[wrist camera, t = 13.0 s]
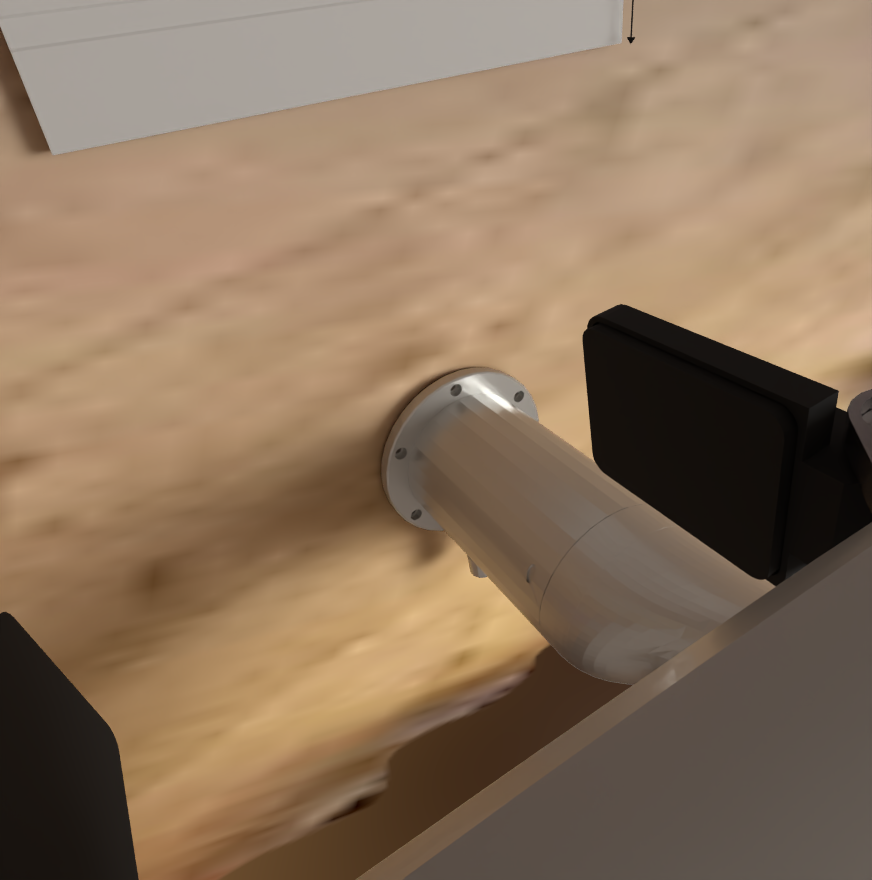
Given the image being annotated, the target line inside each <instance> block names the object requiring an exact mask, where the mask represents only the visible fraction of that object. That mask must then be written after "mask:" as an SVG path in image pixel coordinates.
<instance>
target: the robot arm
mask: <svg viewBox="0 0 872 880" xmlns="http://www.w3.org/2000/svg"><path fill="white" fill-rule="evenodd" d="M583 350H584V362H585V373H586V384H587V395H588V406H589V418H590V429H591V440H592V451H593V457H594V460H595V462H594V461H593V460H592V459H590V458H589V457H587V456H586V455H584V454H583V453H582V452H580V451H579V450H577V449H576V448H574V447H573V446H572V445H570V444H569V443H567V442H566V441H564V440H563V439H562V438H560V437H559V436H557V435H556V434H554V433H553V432H552V431H550V430H549V429H547V428H546V427H544V426H543V425H542V424H540V423H539V418H538V413H537V408H536V405H535V402H534V400H533V398H532V396H531V394H530V393H529V392H528V390H527V389H526V388H525V386H524V385H523V384H521V383H520V382H518V381H517V380H516V379H514V378H513V377H511V376H510V375H508V374H506V373H504V372H502V371H500V370H496V369H492V368H479V367H474V368H469V369H464V370H459V371H456V372H454V373H451V374H449V375H446V376H444V377H442V378H440V379H439V380H437V381H435V382H434V383H432V384H431V385H429V386H428V387H426V388H425V389H424V390H423V391H422V392H421V393H419V394H418V395H417V396H416V397H415V398H414V399H413V400H412V401H411V402H410V403H409V405H408V406H407V407H406V408H405V409H404V410H403V412H402V413H401V415H400V416H399V418H398V419H397V421H396V423H395V424H394V426H393V428H392V430H391V432H390V435H389V437H388V439H387V442H386V445H385V449H384V453H383V457H382V468H381V477H382V483H383V489H384V491H385V494H386V496H387V499H388V501H389V502H390V503H391V505H392V506H393V507H394V509H395V510H396V511H397V512H398V513H399V514H400V515H401V516H402V517H403V518H404V520H405V521H407V522H409V523H410V524H412V525H414V526H416V527H418V528H422V529H426V530H432V531H446V532H447V533H448V535H449V536H450V537H451V538H452V539H453V540H454V541H455V542H456V543H457V544H458V545H459V546H460V547H461V549H462V550H463V551H464V552H465V553H466V554H467V556H468V562H469V567H470V572H471V573H472V574H473V575H474V576H476V577H479V578H483V577H488V578H489V579H490V580H491V581H492V582H493V583H494V584H495V585H496V586H497V587H498V588H499V589H500V590H501V592H502V593H503V594H504V595H505V596H506V597H507V598H508V599H509V600H510V601H511V602H512V603H513V604H514V606H515V607H516V608H517V609H518V610H519V611H520V612H521V613H522V614H523V615H524V616H525V617H526V618H527V620H528V621H529V622H530V623H531V624H532V625H533V626H534V627H535V628H536V629H537V630H538V631H539V632H540V633H541V635H542V636H543V637H544V638H545V639H546V640H547V641H548V642H549V643H550V644H551V645H552V646H553V648H554V649H555V650H556V651H557V652H558V653H559V654H560V655H561V656H562V657H563V658H564V659H566V660H567V661H568V662H569V663H570V664H572V665H573V666H575V667H576V668H578V669H579V670H581V671H583V672H585V673H587V674H589V675H591V676H594V677H596V678H600V679H603V680H607V681H611V682H617V683H624V684H632V685H633V686H631V687H630V688H629V689H627V690H626V691H624V692H623V693H621V694H620V695H618V696H617V697H616V698H614V699H613V700H611V701H610V702H608V703H607V704H606V705H604V706H603V707H601V708H600V709H598V710H597V711H595V712H594V713H593V714H591V715H590V716H588V717H587V718H585V719H584V720H583V721H581V722H580V723H578V724H577V725H576V726H574V727H573V728H571V729H570V730H568V731H567V732H565V733H564V734H562V735H561V736H560V737H558V738H557V739H555V740H554V741H552V742H551V743H550V744H548V745H547V746H545V747H544V748H542V749H541V750H540V751H538V752H537V753H535V754H534V755H532V756H531V757H530V758H528V759H527V760H525V761H524V762H522V763H521V764H520V765H518V766H517V767H515V768H514V769H512V770H511V771H509V772H508V773H507V774H505V775H504V776H502V777H501V778H500V779H498V780H497V781H495V782H494V783H492V784H491V785H490V786H488V787H487V788H485V789H484V790H483V791H481V792H480V793H478V794H477V795H475V796H474V797H472V798H471V799H470V800H468V801H467V802H466V803H464V804H462V805H461V806H460V807H458V808H457V809H455V810H454V811H453V812H451V813H450V814H448V815H447V816H445V817H444V818H443V819H441V820H440V821H438V822H437V823H435V824H434V825H433V826H431V827H430V828H428V829H427V830H426V831H424V832H423V833H421V834H420V835H419V836H417V837H416V838H414V839H413V840H411V841H410V842H409V843H407V844H406V845H404V846H403V847H401V848H400V849H399V850H397V851H396V852H394V853H393V854H392V855H390V856H389V857H387V858H386V859H384V860H383V861H382V862H380V863H379V864H377V865H376V866H374V867H373V868H372V869H370V870H369V871H367V872H366V873H364V874H363V875H362V876H360V877H359V878H357V879H356V880H872V389H871V390H868V391H865V392H862V393H860V394H859V395H858V396H856V397H855V398H854V399H852V400H851V402H850V405H849V407H848V409H847V412H846V411H843V410H841V409H839V408H836V404H837V398H838V392H839V391H838V390H835V389H833V388H831V387H828V386H826V385H823V384H821V383H818V382H816V381H813V380H811V379H808V378H806V377H803V376H801V375H798V374H796V373H793V372H791V371H788V370H786V369H783V368H781V367H778V366H776V365H773V364H771V363H769V362H766V361H764V360H761V359H759V358H756V357H754V356H751V355H749V354H746V353H744V352H741V351H739V350H736V349H734V348H731V347H729V346H726V345H724V344H721V343H719V342H716V341H714V340H711V339H709V338H707V337H704V336H702V335H699V334H697V333H694V332H692V331H689V330H687V329H684V328H682V327H679V326H677V325H674V324H672V323H669V322H667V321H664V320H662V319H659V318H657V317H654V316H652V315H649V314H647V313H645V312H642V311H640V310H637V309H635V308H632V307H630V306H627V305H623V304H620V305H617V306H615V307H613V308H610V309H608V310H606V311H604V312H602V313H600V314H598V315H596V316H594V317H592V318H591V319H590V320H589V322H588V325H587V329H586V330H585V331H584V333H583ZM0 880H138V873H137V866H136V860H135V853H134V847H133V840H132V834H131V827H130V820H129V814H128V807H127V801H126V794H125V788H124V781H123V774H122V768H121V761H120V755H119V749H118V745H117V742H116V739H115V737H114V734H113V732H112V730H111V729H110V727H109V726H108V724H107V723H106V722H105V721H104V720H103V719H102V717H101V716H100V715H99V714H98V713H97V712H96V711H95V709H94V708H93V707H92V706H91V705H90V704H89V703H88V701H87V700H86V699H85V698H84V697H83V696H82V695H81V693H80V692H79V691H78V690H77V689H76V688H75V687H74V685H73V684H72V683H71V682H70V681H69V680H68V679H67V677H66V676H65V675H64V674H63V673H62V672H61V671H60V670H59V668H58V667H57V666H56V665H55V664H54V663H53V662H52V660H51V659H50V658H49V657H48V656H47V655H46V654H45V652H44V651H43V650H42V649H41V648H40V647H39V646H38V644H37V643H36V642H35V641H34V640H33V639H32V638H31V636H30V635H29V634H28V633H27V632H26V631H25V630H24V628H23V627H22V626H21V625H20V624H19V623H18V622H17V621H16V619H15V618H14V617H13V616H12V615H11V614H9V613H7V612H3V613H1V614H0Z"/></svg>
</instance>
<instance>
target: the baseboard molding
mask: <svg viewBox="0 0 872 880" xmlns="http://www.w3.org/2000/svg"><path fill="white" fill-rule="evenodd" d="M633 2H634V0H632V17H631V37H627V38H628V40H629V42H630V44H631V43H632V42H633V40H634V39H635V37H632V22H633ZM622 21H623V0H0V28H1V30H2V33H3V35H4V38H5V40H6V43H7V45H8V48H9V50H10V53H11V55H12V58H13V60H14V62H15V65H16V67H17V70H18V72H19V75H20V77H21V80H22V82H23V85H24V87H25V90H26V92H27V94H28V97H29V99H30V102H31V104H32V107H33V109H34V112H35V114H36V117H37V119H38V121H39V124H40V126H41V129H42V131H43V134H44V136H45V139H46V141H47V144H48V146H49V149H50V151H51V153H52V155H57V154H62V153H67V152H72V151H77V150H82V149H87V148H93V147H98V146H103V145H108V144H113V143H118V142H123V141H128V140H133V139H138V138H143V137H148V136H153V135H158V134H163V133H169V132H174V131H179V130H184V129H189V128H194V127H199V126H204V125H209V124H214V123H219V122H224V121H229V120H234V119H239V118H244V117H250V116H255V115H260V114H265V113H270V112H275V111H280V110H285V109H290V108H295V107H300V106H305V105H310V104H315V103H320V102H326V101H331V100H336V99H341V98H346V97H351V96H356V95H361V94H366V93H371V92H376V91H381V90H386V89H391V88H396V87H401V86H407V85H412V84H417V83H422V82H427V81H432V80H437V79H442V78H447V77H452V76H457V75H462V74H467V73H472V72H477V71H483V70H488V69H493V68H498V67H503V66H508V65H513V64H518V63H523V62H528V61H533V60H538V59H543V58H548V57H553V56H558V55H564V54H569V53H574V52H579V51H584V50H589V49H594V48H599V47H604V46H609V45H614V44H619V43H622Z"/></svg>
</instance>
